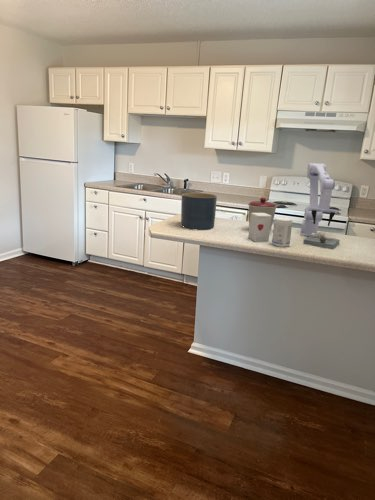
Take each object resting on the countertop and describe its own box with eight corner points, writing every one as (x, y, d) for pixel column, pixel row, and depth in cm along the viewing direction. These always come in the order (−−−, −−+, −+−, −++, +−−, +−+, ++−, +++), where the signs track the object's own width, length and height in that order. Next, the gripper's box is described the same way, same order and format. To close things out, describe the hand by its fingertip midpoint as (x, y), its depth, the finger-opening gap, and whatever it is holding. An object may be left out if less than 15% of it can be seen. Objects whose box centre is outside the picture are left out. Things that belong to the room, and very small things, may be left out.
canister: (272, 228, 243) (276, 196, 237) (276, 234, 226) (280, 200, 220) (244, 226, 245) (247, 194, 239) (246, 232, 227) (249, 198, 222)
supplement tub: (284, 242, 209) (287, 216, 205) (292, 247, 200) (296, 220, 196) (268, 242, 206) (271, 216, 202) (276, 247, 197) (279, 220, 193)
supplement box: (254, 241, 207) (257, 215, 203) (247, 237, 215) (250, 212, 211) (269, 241, 209) (272, 215, 205) (262, 237, 217) (264, 212, 213)
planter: (175, 223, 243) (176, 192, 238) (204, 222, 253) (206, 192, 247) (189, 231, 224) (190, 198, 219) (220, 229, 233) (223, 197, 228)
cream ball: (317, 237, 214) (318, 231, 214) (319, 236, 217) (320, 230, 216) (323, 237, 213) (324, 232, 212) (324, 237, 215) (325, 231, 214)
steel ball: (309, 238, 211) (310, 232, 210) (311, 237, 213) (311, 231, 213) (315, 239, 209) (315, 233, 208) (316, 238, 212) (317, 232, 211)
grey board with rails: (303, 243, 208) (303, 238, 207) (310, 238, 220) (311, 233, 219) (332, 249, 199) (333, 243, 198) (339, 243, 211) (339, 238, 210)
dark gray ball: (318, 242, 202) (319, 236, 201) (320, 241, 205) (321, 235, 204) (324, 243, 200) (325, 237, 199) (326, 242, 203) (327, 236, 202)
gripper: (310, 200, 205) (307, 224, 209) (338, 203, 199) (334, 227, 203) (312, 198, 211) (308, 222, 215) (339, 201, 205) (335, 225, 209)
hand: (321, 224), depth 209 cm, fingers open, 7 cm apart
